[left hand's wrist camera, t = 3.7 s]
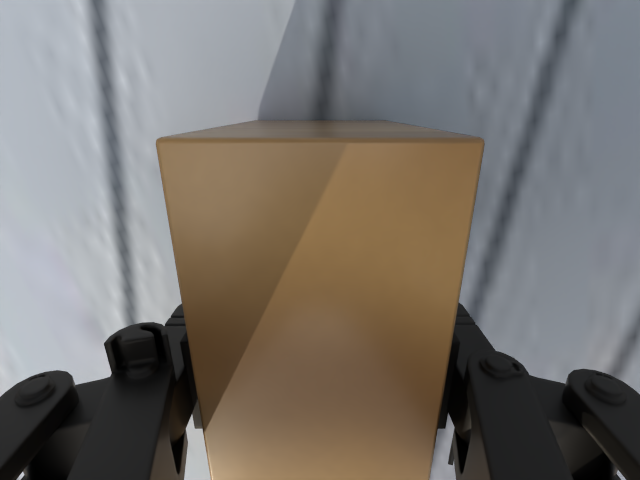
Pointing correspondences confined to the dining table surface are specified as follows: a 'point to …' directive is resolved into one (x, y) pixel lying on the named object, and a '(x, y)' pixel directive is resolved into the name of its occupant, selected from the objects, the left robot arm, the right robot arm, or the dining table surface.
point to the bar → (320, 290)
